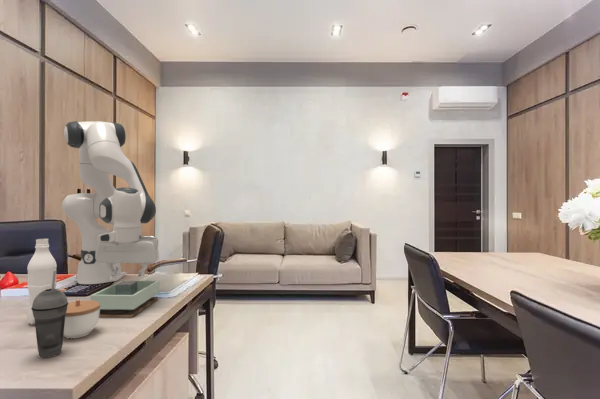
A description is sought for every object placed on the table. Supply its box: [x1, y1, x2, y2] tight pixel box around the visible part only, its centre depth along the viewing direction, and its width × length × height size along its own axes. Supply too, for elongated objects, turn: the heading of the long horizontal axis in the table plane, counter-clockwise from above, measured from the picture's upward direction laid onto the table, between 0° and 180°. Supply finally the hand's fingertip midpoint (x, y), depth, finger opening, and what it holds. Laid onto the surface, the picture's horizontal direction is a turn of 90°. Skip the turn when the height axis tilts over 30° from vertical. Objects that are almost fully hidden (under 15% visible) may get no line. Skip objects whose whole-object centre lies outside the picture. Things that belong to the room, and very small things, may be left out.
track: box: [99, 296, 159, 319], centre depth 120 cm, size 20×20×1 cm
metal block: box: [115, 280, 138, 295], centre depth 120 cm, size 5×5×5 cm
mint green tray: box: [89, 279, 160, 311], centre depth 120 cm, size 20×14×6 cm
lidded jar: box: [63, 299, 100, 340], centre depth 97 cm, size 11×11×9 cm
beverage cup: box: [31, 270, 69, 358], centre depth 85 cm, size 7×7×20 cm
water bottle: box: [26, 238, 58, 326], centre depth 106 cm, size 7×7×25 cm
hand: (127, 275), depth 121 cm, fingers open, 8 cm apart
